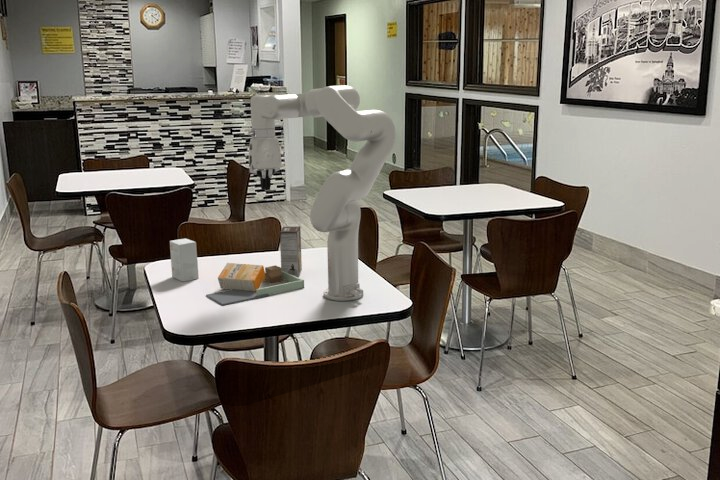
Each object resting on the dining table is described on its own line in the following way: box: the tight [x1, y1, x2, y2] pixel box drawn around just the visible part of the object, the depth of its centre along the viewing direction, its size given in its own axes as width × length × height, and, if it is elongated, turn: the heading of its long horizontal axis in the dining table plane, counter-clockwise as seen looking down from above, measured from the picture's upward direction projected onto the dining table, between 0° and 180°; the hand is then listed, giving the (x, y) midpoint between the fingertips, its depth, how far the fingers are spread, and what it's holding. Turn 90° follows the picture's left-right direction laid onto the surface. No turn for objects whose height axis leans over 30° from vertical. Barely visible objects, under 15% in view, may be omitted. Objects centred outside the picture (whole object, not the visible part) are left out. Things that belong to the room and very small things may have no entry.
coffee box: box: [279, 225, 303, 278], centre depth 249 cm, size 9×6×16 cm
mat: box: [205, 289, 270, 306], centre depth 226 cm, size 12×16×1 cm
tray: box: [256, 271, 305, 296], centre depth 235 cm, size 15×17×2 cm
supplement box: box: [217, 262, 266, 291], centre depth 233 cm, size 8×5×13 cm
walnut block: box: [264, 265, 283, 285], centre depth 241 cm, size 4×4×5 cm
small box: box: [169, 237, 199, 283], centre depth 246 cm, size 8×6×13 cm
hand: (265, 189), depth 237 cm, fingers closed
